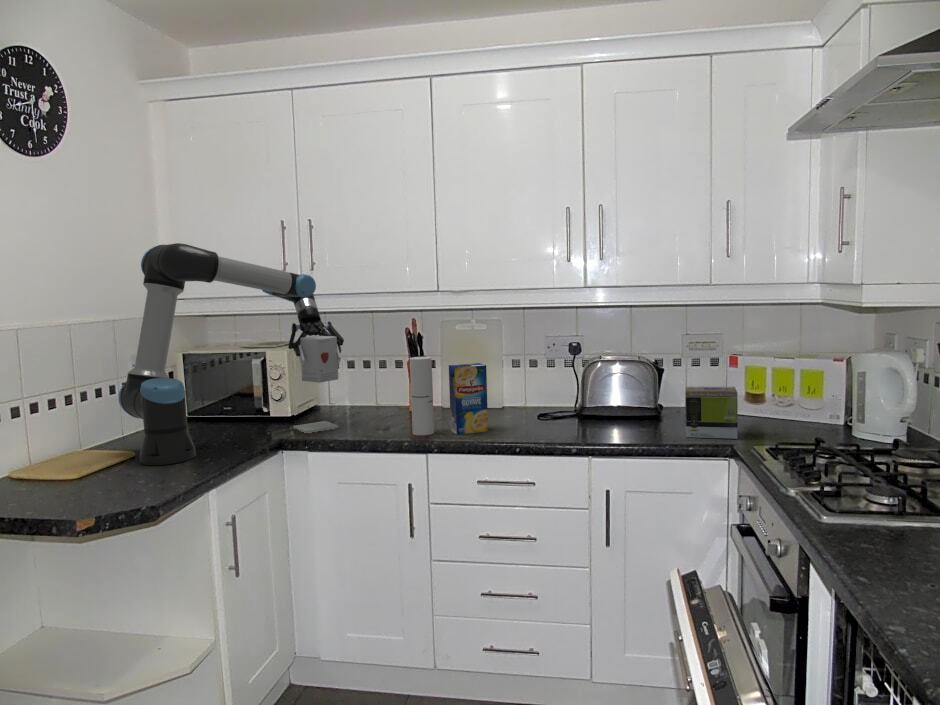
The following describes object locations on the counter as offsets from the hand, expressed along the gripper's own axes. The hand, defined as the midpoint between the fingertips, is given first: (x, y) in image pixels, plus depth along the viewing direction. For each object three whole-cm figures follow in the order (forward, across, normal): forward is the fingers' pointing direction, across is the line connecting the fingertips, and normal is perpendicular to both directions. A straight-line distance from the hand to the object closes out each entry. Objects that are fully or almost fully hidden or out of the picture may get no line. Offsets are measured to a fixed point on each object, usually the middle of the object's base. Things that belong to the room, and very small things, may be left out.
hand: (321, 361), depth 230 cm
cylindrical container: (+33, -27, -1) cm, 42 cm away
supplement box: (+3, 0, -7) cm, 8 cm away
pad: (+13, +2, -21) cm, 25 cm away
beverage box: (+37, -41, +3) cm, 55 cm away
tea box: (+70, -101, +37) cm, 128 cm away
